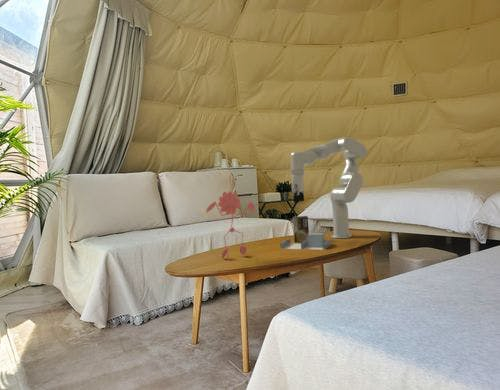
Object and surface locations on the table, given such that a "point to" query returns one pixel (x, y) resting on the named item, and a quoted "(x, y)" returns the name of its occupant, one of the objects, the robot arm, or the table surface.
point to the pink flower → (229, 205)
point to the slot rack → (302, 245)
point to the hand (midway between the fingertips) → (299, 201)
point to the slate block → (316, 240)
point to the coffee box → (300, 228)
